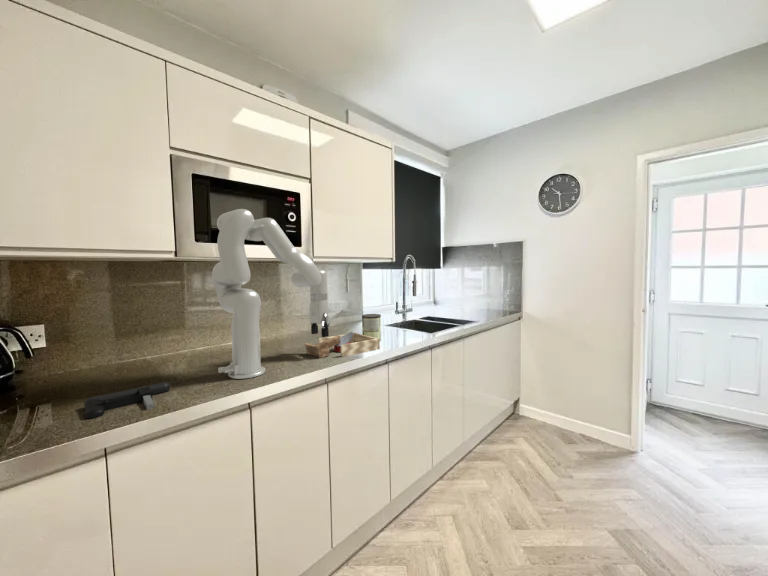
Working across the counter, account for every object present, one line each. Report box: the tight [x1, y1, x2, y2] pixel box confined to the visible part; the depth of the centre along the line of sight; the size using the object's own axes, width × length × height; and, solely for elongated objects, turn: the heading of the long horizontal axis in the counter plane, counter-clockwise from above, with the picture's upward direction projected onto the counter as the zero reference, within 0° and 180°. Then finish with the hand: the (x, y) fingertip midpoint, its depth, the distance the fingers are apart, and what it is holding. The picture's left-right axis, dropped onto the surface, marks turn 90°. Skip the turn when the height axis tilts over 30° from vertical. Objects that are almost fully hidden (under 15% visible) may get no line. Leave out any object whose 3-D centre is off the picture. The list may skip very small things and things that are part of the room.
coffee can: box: [361, 313, 382, 342], centre depth 173 cm, size 10×10×14 cm
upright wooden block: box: [304, 335, 340, 359], centre depth 147 cm, size 5×12×14 cm
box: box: [318, 332, 381, 357], centre depth 156 cm, size 21×21×5 cm
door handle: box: [83, 382, 171, 420], centre depth 92 cm, size 3×20×16 cm
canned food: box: [333, 331, 354, 353], centre depth 154 cm, size 11×10×10 cm
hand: (319, 335), depth 145 cm, fingers open, 9 cm apart
